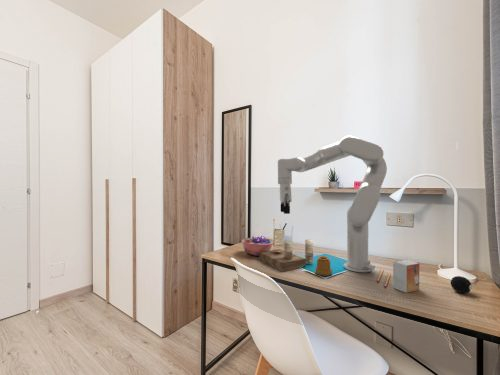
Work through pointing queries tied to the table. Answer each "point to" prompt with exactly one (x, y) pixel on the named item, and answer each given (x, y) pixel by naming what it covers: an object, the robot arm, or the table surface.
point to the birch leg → (309, 251)
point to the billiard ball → (461, 284)
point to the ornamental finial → (323, 266)
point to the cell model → (256, 245)
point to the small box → (406, 275)
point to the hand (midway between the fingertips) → (285, 212)
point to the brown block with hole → (282, 258)
